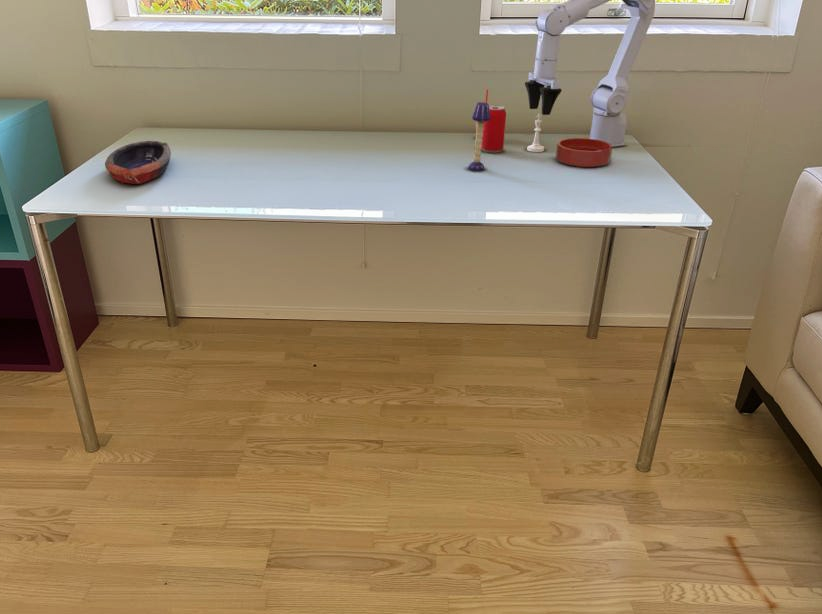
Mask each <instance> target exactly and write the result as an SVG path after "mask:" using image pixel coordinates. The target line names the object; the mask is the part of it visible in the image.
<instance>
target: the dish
mask: <svg viewBox="0 0 822 614" xmlns="http://www.w3.org/2000/svg"><path fill="white" fill-rule="evenodd" d="M171 156H172V151H171V148H170V146H169V144H168V142H166V141H164V142H162V141H158V140H144V141H143V140H142V141H137V142H132V143H129V144H126V145H124V146H121V147H119V148H117V149H115V150H114V151H112V152H111V153H110V154H109V155H108V156H107V157H106V159H105V162H104V166H105V167H104V168H105V169H106V171H107V172H108V173H109V175H110V177H112V179H114V180H115V181H118V182H121V183H122V184H123V183H125V184H132V185H133V184H134V185H139V184H140V185H141V184H143V183H146V182H148V181H151V180H154V179H157V178H158V177H159V176H161V175H162V174H163V173H164V172H165V171H166V170H167V169H168V166H169V163H170V160H171Z"/></svg>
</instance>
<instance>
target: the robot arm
mask: <svg viewBox="0 0 822 614" xmlns="http://www.w3.org/2000/svg"><path fill="white" fill-rule="evenodd" d="M611 1H612V0H567V1H564V2H563V3H561V4H559V3H558V4H555V5H554V7H553V9H544V10H543V11H542V12H540V14H538V16H537V20H535V28H536V30H537V32H538V33H537V43H536V52H535V61H534V68H533V71H532V72H531V71H529V72H528V77H527V78H528V79H527V80H528V81H525V82H524V86H525V89H526V92H527V96H528V106H529V109H530V110H538V109H539V105H540V101H541V116H550V115H551V113H552V110H553V108H554V105H555V103H556V101H557V98H558V97H559V96H560V94H561V93H562V88H560V85H561V81H560V80H558V79H557V78H556V72H557V70H556V69H557V63H558V54H559V50H560V49H559V48H560V41H561V34H562V33H564V31H565V30H566V28H567V27H570V26H572V25H573V24H575V23H577V22H580V21H582V20H583V19H585V18H587V17H588V15H589V12H590V10H593V9H596V8H598V7H600V6H602V5H605V4H607V3H609V2H611ZM621 1H622V2H623V4H624V5H625V6H626V7H627V9H628V11H629V13H630V19H629V21H628V24H627V26H626V29H625V31H624V33H623V36H622V38H621V41H620V43H619V46H618V48H617V51H616V53H615V55H614V59H613V61H612V63H611V65H610V68H609V71H608V73H607V75H606V76H604V77H603V78H602V79H600V81H599V83H598V85H597V86H596V88H595V89H593V91H592V93H591V95H590V104H591V106H592V108H593V109H592V111H593V113H592V121H591V127H590V134H589V139H597V140H601V141H605V142H607V143H610V144H611V145H612V148H614V147H615V148H616V147H624V146H626V144H625V143H624V142H625V137H626V130H627V124H628V123H627V117H626V114H625V113H623V111H624V110H625V108H626V106H627V102H628V99H627V97H628V94H629V92H630V89H629V86H628V85H629V84H628V82H627V80H628V78H629V76H630V74H631V71H632V69H633V67H634V64H635V61H636V59H637V56H638V55H639V52H640V49H641V47H642V45H643V43H644V41H645V38H646V36H647V33H648V31H649V28H650V26H651V23H652V22H653V19H654V17H655V12H656V9H655V8H656V0H621Z"/></svg>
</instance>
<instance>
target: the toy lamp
mask: <svg viewBox="0 0 822 614" xmlns="http://www.w3.org/2000/svg"><path fill="white" fill-rule="evenodd" d="M471 119H472V121H475V122H476V121H477V128H476V127H475V131H476V130H477V133H476V132H475V139H474V140H475V141H474V143H475V144H474V154H473V155H474V157H473V161H472V162H470V163H469V165H468V167H467V168H468V170H469V171H471V172H482V171H484V170H485V165H484V164H483V162H481V156H482V137H483V133H482V132H483V125H484V121H489V120H490V111H489V102H487V103H486V101H485V102H484V101H479V102H477V103H476V104H475V107H474V110H473V113H472V117H471Z"/></svg>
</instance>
